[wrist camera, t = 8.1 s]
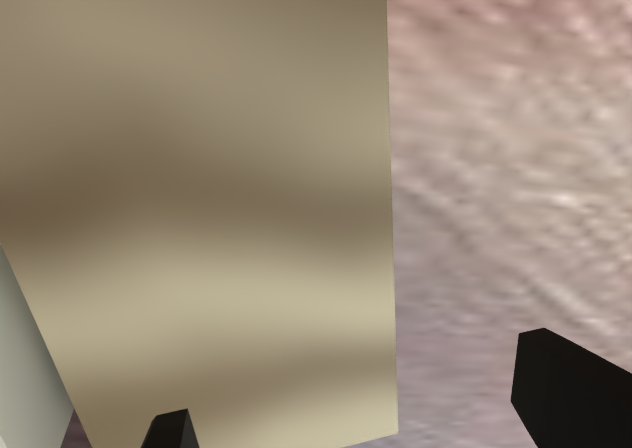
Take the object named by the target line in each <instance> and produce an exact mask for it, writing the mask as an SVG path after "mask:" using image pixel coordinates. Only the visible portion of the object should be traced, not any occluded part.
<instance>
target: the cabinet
mask: <svg viewBox="0 0 632 448" xmlns="http://www.w3.org/2000/svg"><path fill="white" fill-rule="evenodd" d="M0 243H1V246H2V248H3V250H4V252H5V254H6V257H7V259H8V261H9V263H10V266H11V268H12V270H13V272H14V275H15V277H16V279H17V281H18V283H19V286H20V288H21V290H22V292H23V295H24V297H25V299H26V301H27V304H28V306H29V308H30V310H31V313H32V315H33V317H34V319H35V321H36V324H37V326H38V328H39V330H40V333H41V335H42V337H43V339H44V342H45V344H46V346H47V348H48V350H49V353H50V355H51V357H52V359H53V362H54V364H55V366H56V368H57V371H58V373H59V375H60V377H61V380H62V382H63V384H64V386H65V388H66V391H67V393H68V395H69V397H70V400H71V402H72V404H73V406H74V409H75V411H76V413H77V415H78V417H79V420H80V422H81V424H82V426H83V429H84V431H85V433H86V435H87V438H88V440H89V442H90V444H91V446H92V448H141V446H142V443H143V441H144V439H145V436H146V434H147V432H148V429H149V427H150V424H151V422H152V420H153V419H154V418H155V416H156V415H160V414H164V413H169V412H173V411H178V410H182V409H187V408H188V411H189V414H190V417H191V421H192V424H193V427H194V431H195V434H196V437H197V441H198V444H199V447H200V448H342V447H346V446H350V445H354V444H358V443H362V442H366V441H369V440H373V439H377V438H381V437H385V436H389V435H393V434H397V433H398V408H397V371H396V334H395V296H394V259H393V222H392V185H391V148H390V111H389V74H388V37H387V0H0Z"/></svg>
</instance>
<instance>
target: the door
mask: <svg viewBox="0 0 632 448" xmlns="http://www.w3.org/2000/svg"><path fill="white" fill-rule="evenodd" d="M73 411H74V406H73V404H72V402H71V400H70V397H69V395H68V393H67V391H66V388H65V386H64V384H63V382H62V380H61V377H60V375H59V373H58V371H57V368H56V366H55V364H54V362H53V359H52V357H51V355H50V353H49V350H48V348H47V346H46V344H45V342H44V339H43V337H42V335H41V333H40V330H39V328H38V326H37V324H36V321H35V319H34V317H33V315H32V313H31V310H30V308H29V306H28V304H27V301H26V299H25V297H24V295H23V292H22V290H21V288H20V286H19V283H18V281H17V279H16V277H15V275H14V272H13V270H12V268H11V266H10V263H9V261H8V259H7V257H6V254H5V252H4V250H3V248H2V246H1V243H0V448H60V447H61V445H62V442H63V439H64V436H65V433H66V430H67V428H68V425H69V422H70V419H71V416H72V413H73Z"/></svg>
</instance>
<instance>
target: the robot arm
mask: <svg viewBox="0 0 632 448" xmlns="http://www.w3.org/2000/svg"><path fill="white" fill-rule="evenodd" d="M511 403H512V404H513V406H514V408H515V410H516V412H517V413H518V415H519V417H520V419H521V420H522V422H523V424H524V426H525V427H526V429H527V431H528V432H529V434H530V436H531V437H532V439H533V441H534V442H535V444H536V445H537V447H538V448H632V373H630V372H628V371H626V370H624V369H622V368H620V367H618V366H616V365H615V364H613V363H611V362H609V361H607V360H605V359H603V358H601V357H600V356H598V355H596V354H594V353H592V352H590V351H588V350H587V349H585V348H583V347H581V346H579V345H577V344H575V343H573V342H572V341H570V340H568V339H566V338H564V337H562V336H560V335H558V334H556V333H554V332H552V331H550V330H548V329H546V328H540V329H536V330H532V331H527V332H523V333H519V337H518V345H517V353H516V362H515V370H514V378H513V386H512V394H511ZM141 448H200V447H199V444H198V441H197V437H196V434H195V431H194V427H193V424H192V421H191V417H190V414H189V411H188V408H187V409H182V410H178V411H173V412H169V413H164V414H160V415H156V416H155V418H154V419H153V420H152V422H151V424H150V427H149V429H148V432H147V434H146V436H145V439H144V441H143V443H142V446H141Z"/></svg>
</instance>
